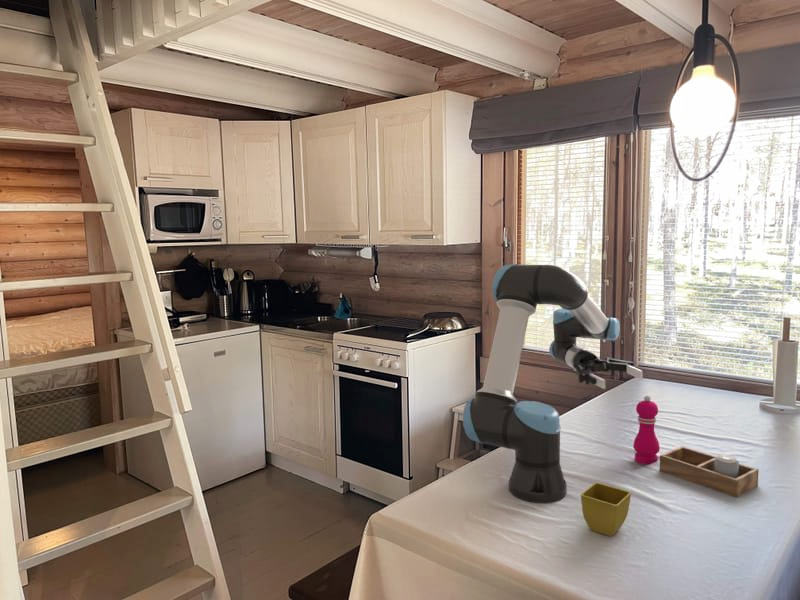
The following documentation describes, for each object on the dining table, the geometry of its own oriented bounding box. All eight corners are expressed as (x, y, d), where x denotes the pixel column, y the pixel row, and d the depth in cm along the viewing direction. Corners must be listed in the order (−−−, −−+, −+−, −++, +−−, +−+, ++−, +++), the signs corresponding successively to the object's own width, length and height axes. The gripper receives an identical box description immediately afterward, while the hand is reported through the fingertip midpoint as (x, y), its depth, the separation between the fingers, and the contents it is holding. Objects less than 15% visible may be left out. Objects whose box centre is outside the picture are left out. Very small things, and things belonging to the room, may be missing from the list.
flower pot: (631, 528, 139) (632, 491, 138) (616, 543, 133) (617, 505, 132) (595, 516, 145) (595, 481, 144) (579, 531, 139) (579, 494, 138)
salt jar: (731, 490, 154) (732, 463, 154) (709, 483, 159) (710, 457, 158) (742, 484, 158) (743, 458, 157) (720, 478, 162) (721, 452, 161)
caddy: (736, 501, 151) (737, 480, 150) (659, 473, 168) (659, 455, 168) (757, 489, 157) (758, 469, 156) (681, 464, 174) (681, 446, 174)
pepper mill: (654, 456, 181) (656, 392, 178) (662, 465, 174) (664, 399, 171) (630, 456, 182) (631, 392, 179) (637, 465, 175) (638, 399, 172)
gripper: (613, 363, 206) (656, 382, 186) (550, 378, 199) (588, 400, 179) (612, 342, 204) (656, 359, 184) (549, 357, 197) (587, 376, 177)
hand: (623, 379), depth 182 cm, fingers open, 13 cm apart
